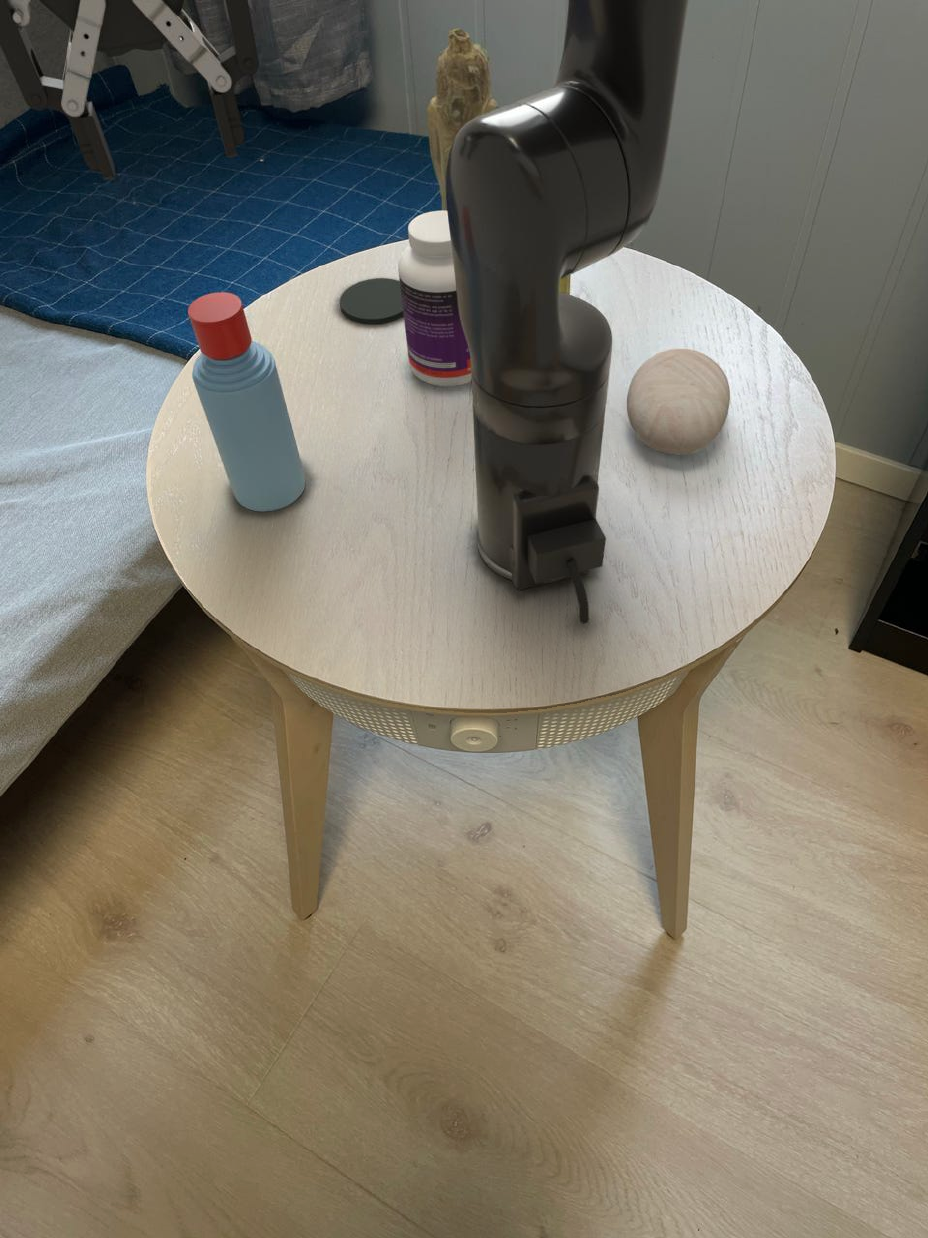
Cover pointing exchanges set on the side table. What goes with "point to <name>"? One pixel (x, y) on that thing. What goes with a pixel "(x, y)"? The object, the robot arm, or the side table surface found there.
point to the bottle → (251, 427)
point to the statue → (457, 98)
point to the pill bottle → (432, 304)
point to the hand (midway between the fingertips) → (170, 162)
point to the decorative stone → (678, 401)
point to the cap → (220, 325)
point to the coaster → (373, 301)
